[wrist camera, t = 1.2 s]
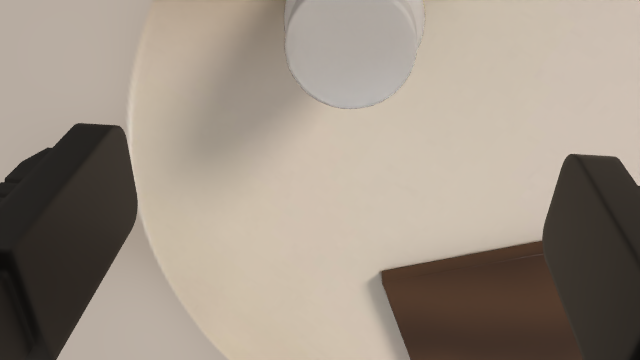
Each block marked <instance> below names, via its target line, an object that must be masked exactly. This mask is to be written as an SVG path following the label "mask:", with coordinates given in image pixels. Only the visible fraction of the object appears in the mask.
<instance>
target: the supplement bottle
mask: <svg viewBox="0 0 640 360" xmlns="http://www.w3.org/2000/svg"><path fill="white" fill-rule="evenodd" d="M424 23H425V8H424V1H423V0H286V5H285V10H284V28H285V55H286V60H287V64H288V67H289V69H290V71H291V73H292V75H293V77H294V79H295V80H296V82H297V83H298V84H299V85H300V87H301V88H302V89H303V90H304V91H305V92H306V93H308V94H309V95H310V96H312V97H313V98H315V99H316V100H318V101H320V102H322V103H324V104H327V105H329V106H333V107H337V108H343V109H357V108H364V107H369V106H372V105H375V104H378V103H380V102H382V101H384V100H386V99H387V98H389V97H390V96H392V95H393V94H394V93H395V92H396V91H397V90H398V89H399V88H400V87H401V86H402V85H403V84H404V83H405V81H406V80H407V78H408V77H409V75H410V73H411V71H412V69H413V66H414V63H415V59H416V54H417V50H418V47H419V45H420V43H421V39H422V36H423V31H424Z"/></svg>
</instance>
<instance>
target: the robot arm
mask: <svg viewBox="0 0 640 360" xmlns="http://www.w3.org/2000/svg"><path fill="white" fill-rule="evenodd" d="M137 206H138V201H137V192H136V187H135V182H134V176H133V171H132V165H131V160H130V155H129V149H128V144H127V139H126V135H125V132H124V131H123V129H122V128H121V127H120V126H116V125H99V124H84V123H78V124H76V125H74V126H73V127H72V128H71V129H70V130H69V131H68V132H67V133H66V134H65V135H64V136H63V137H62V139H61V140H60V141H59V142H58V143H57V144H56V145H55V146H54V147H53V148H46V149H45V150H43V151H41V152H39V153H37V154H35V155H33V156H31V157H30V158H28V159H26V160H24V161H22V162H21V163H20V164H19V165H18V166H17V167H16V168H15V169H14V170H13V171H12V172H11V173H10V174H9V175H8V176H7V177H6V178H5V182H1V183H0V360H56V359H57V357H58V356H59V354H60V352H61V350H62V349H63V347H64V345H65V343H66V342H67V340H68V338H69V337H70V335H71V333H72V331H73V330H74V328H75V326H76V325H77V323H78V321H79V319H80V318H81V316H82V314H83V312H84V311H85V309H86V307H87V305H88V304H89V302H90V300H91V299H92V297H93V295H94V293H95V292H96V290H97V288H98V287H99V285H100V283H101V281H102V280H103V278H104V276H105V275H106V273H107V271H108V269H109V268H110V266H111V264H112V263H113V261H114V259H115V257H116V256H117V254H118V252H119V250H120V249H121V247H122V245H123V244H124V242H125V240H126V238H127V237H128V235H129V233H130V232H131V230H132V228H133V225H134V223H135V220H136V214H137ZM542 244H543V253H544V258H545V261H546V263H547V266H548V269H549V271H550V274H551V276H552V279H553V282H554V284H555V287H556V290H557V292H558V295H559V298H560V300H561V303H562V306H563V308H564V311H565V313H566V316H567V319H568V321H569V324H570V327H571V329H572V332H573V335H574V337H575V340H576V342H577V345H578V348H579V350H580V353H581V356H582V358H583V360H640V186H638V185H637V184H636V183H635V181H634V180H633V178H632V177H631V175H630V174H629V173H628V171H627V170H626V168H625V167H624V165H623V164H622V163H621V161H620V160H619V159H618V158H617V157H614V156H597V155H580V154H570V155H568V156H567V157H566V159H565V161H564V163H563V165H562V168H561V171H560V174H559V178H558V181H557V184H556V188H555V191H554V194H553V197H552V201H551V204H550V207H549V211H548V214H547V217H546V220H545V224H544V229H543V238H542Z"/></svg>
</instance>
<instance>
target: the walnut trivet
mask: <svg viewBox="0 0 640 360" xmlns="http://www.w3.org/2000/svg"><path fill="white" fill-rule="evenodd" d="M382 284H383V286H384V289H385V292H386V294H387V297H388V300H389V303H390V305H391V308H392V311H393V313H394V316H395V319H396V321H397V324H398V327H399V329H400V332H401V335H402V337H403V340H404V343H405V346H406V348H407V351H408V354H409V356H410V359H411V360H583V358H582V356H581V353H580V350H579V348H578V345H577V342H576V340H575V337H574V335H573V332H572V329H571V327H570V324H569V321H568V319H567V316H566V313H565V311H564V308H563V306H562V303H561V300H560V298H559V295H558V292H557V290H556V287H555V284H554V282H553V279H552V276H551V274H550V271H549V269H548V266H547V263H546V261H545V258H544V253H543V244H542V241H539V242H534V243H529V244H524V245H518V246H513V247H508V248H502V249H497V250H492V251H486V252H481V253H476V254H470V255H465V256H460V257H454V258H449V259H444V260H439V261H433V262H428V263H423V264H417V265H412V266H407V267H401V268H396V269H391V270H385V271H382Z"/></svg>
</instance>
